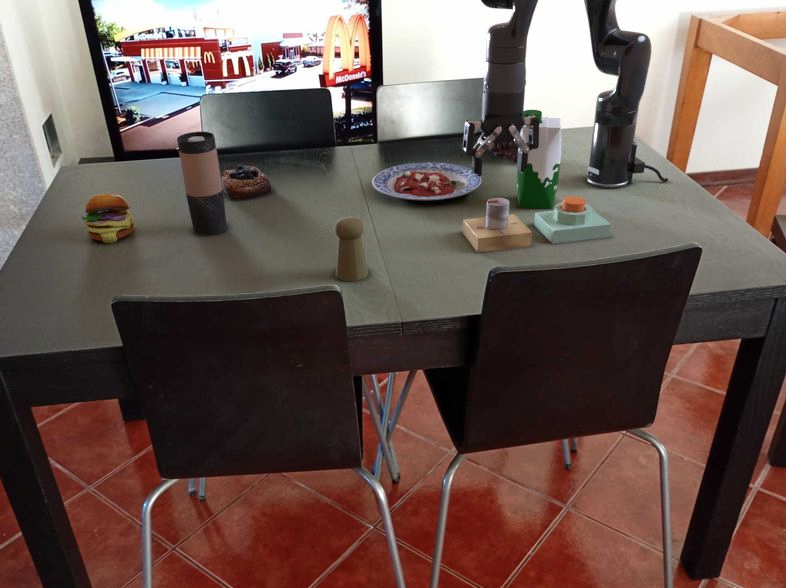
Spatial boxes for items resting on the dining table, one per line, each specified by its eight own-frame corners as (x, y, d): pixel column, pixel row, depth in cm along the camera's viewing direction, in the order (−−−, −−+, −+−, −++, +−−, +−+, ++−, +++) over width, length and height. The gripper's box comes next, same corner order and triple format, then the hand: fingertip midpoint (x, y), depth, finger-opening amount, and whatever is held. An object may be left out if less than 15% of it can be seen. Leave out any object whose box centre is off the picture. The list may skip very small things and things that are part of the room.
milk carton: (515, 195, 174) (521, 106, 164) (556, 196, 173) (564, 107, 162) (514, 209, 167) (520, 117, 157) (556, 210, 165) (565, 118, 155)
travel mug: (234, 223, 166) (221, 132, 155) (217, 237, 160) (202, 143, 149) (203, 220, 168) (188, 130, 158) (185, 234, 162) (169, 140, 152)
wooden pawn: (334, 268, 145) (331, 213, 139) (366, 266, 145) (364, 211, 139) (336, 282, 140) (332, 226, 134) (369, 279, 140) (366, 224, 134)
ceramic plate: (355, 201, 175) (355, 189, 173) (394, 167, 195) (394, 155, 193) (463, 213, 166) (464, 200, 164) (493, 176, 186) (493, 164, 184)
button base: (587, 219, 161) (590, 196, 158) (609, 237, 152) (612, 213, 150) (534, 225, 159) (535, 202, 156) (552, 243, 151) (554, 220, 148)
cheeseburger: (84, 247, 158) (73, 198, 155) (92, 239, 168) (82, 194, 165) (134, 241, 159) (124, 192, 156) (139, 233, 169) (130, 188, 166)
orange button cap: (578, 204, 155) (579, 195, 154) (588, 212, 152) (589, 202, 151) (558, 207, 155) (559, 197, 154) (567, 214, 151) (568, 205, 150)
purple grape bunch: (546, 161, 194) (536, 133, 186) (513, 183, 195) (501, 156, 187) (513, 126, 205) (503, 99, 197) (482, 147, 206) (470, 121, 198)
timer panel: (513, 227, 158) (514, 213, 157) (530, 246, 150) (532, 231, 148) (462, 233, 157) (463, 218, 155) (477, 252, 148) (478, 237, 147)
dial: (503, 220, 154) (505, 195, 151) (511, 228, 150) (512, 202, 148) (482, 222, 153) (483, 197, 151) (489, 230, 150) (491, 205, 147)
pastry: (260, 179, 190) (258, 156, 187) (276, 194, 181) (274, 170, 178) (218, 187, 187) (214, 164, 183) (232, 202, 177) (228, 178, 174)
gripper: (533, 79, 142) (527, 164, 150) (460, 84, 140) (457, 170, 148) (549, 87, 136) (541, 176, 144) (472, 94, 134) (469, 183, 142)
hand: (499, 173), depth 146 cm, fingers open, 8 cm apart
